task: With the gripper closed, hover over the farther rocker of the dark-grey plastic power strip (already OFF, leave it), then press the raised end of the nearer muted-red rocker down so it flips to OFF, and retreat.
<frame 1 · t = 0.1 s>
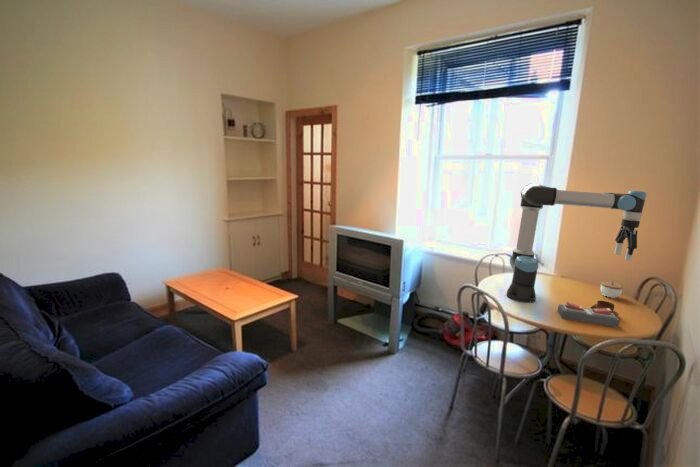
hand: (622, 257, 189), 28 cm above the table, fingers open, 13 cm apart
rocker 1: (574, 306, 173), point 6 cm above the table, hinge at 13.0°
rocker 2: (602, 310, 170), point 6 cm above the table, hinge at -13.0°
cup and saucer: (603, 314, 180), on the table
power strip: (586, 319, 173), on the table
lidded jar: (609, 296, 207), on the table
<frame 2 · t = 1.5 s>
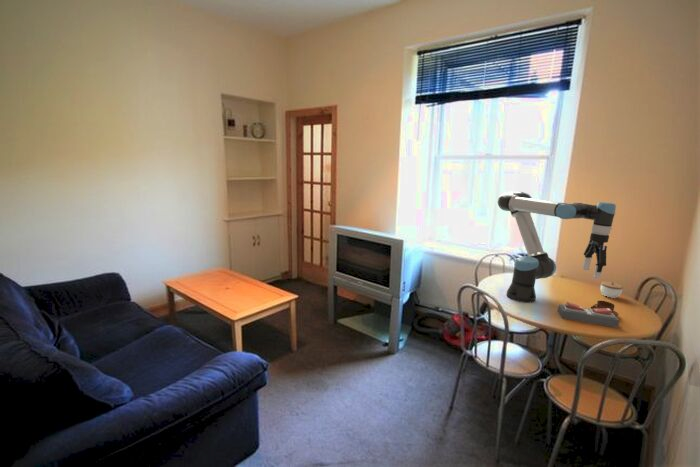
hand: (590, 273, 175), 22 cm above the table, fingers open, 13 cm apart
nothing on the table moved.
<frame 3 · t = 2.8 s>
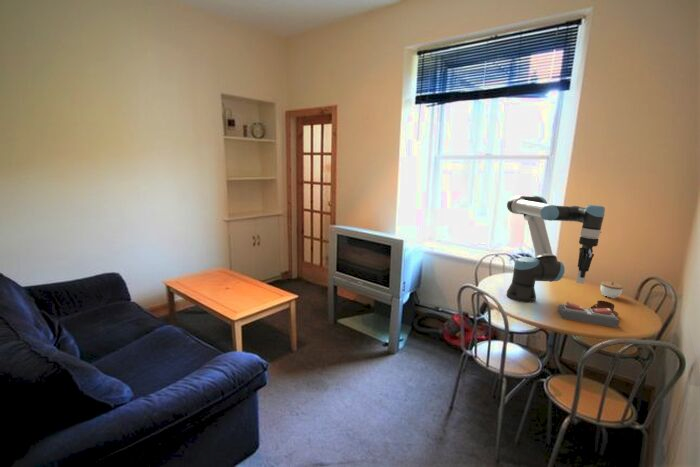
hand: (579, 282, 171), 18 cm above the table, fingers closed
nothing on the table moved.
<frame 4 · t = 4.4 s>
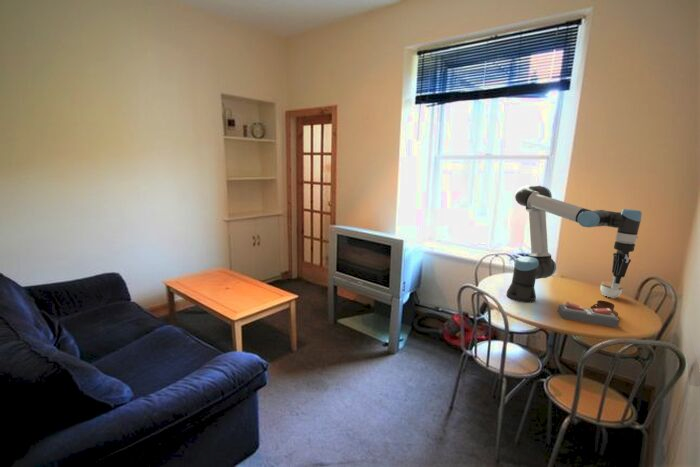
hand: (614, 288, 166), 18 cm above the table, fingers closed
nothing on the table moved.
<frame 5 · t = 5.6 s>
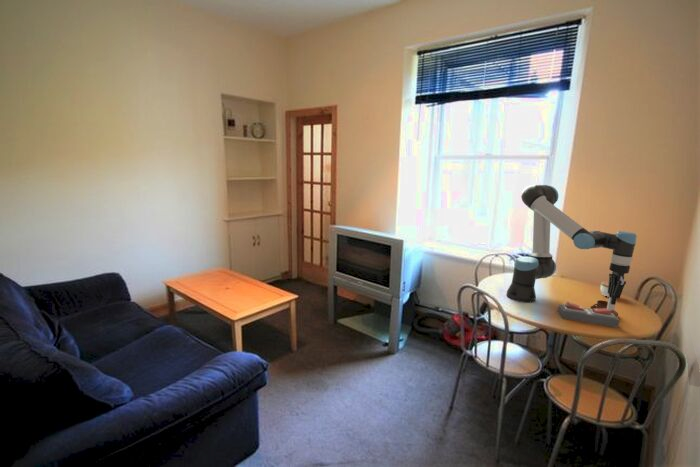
hand: (610, 309, 168), 7 cm above the table, fingers closed
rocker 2: (602, 310, 170), point 6 cm above the table, hinge at -12.8°, touching gripper
everything else where it was.
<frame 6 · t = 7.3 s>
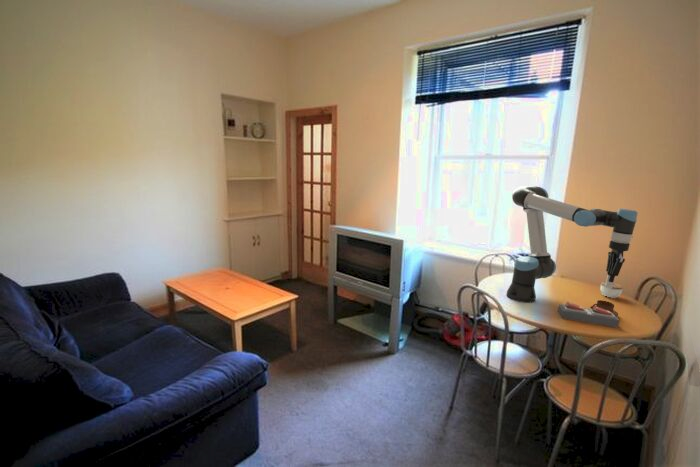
hand: (608, 287, 169), 18 cm above the table, fingers closed
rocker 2: (602, 310, 170), point 6 cm above the table, hinge at 12.2°
everything else where it was.
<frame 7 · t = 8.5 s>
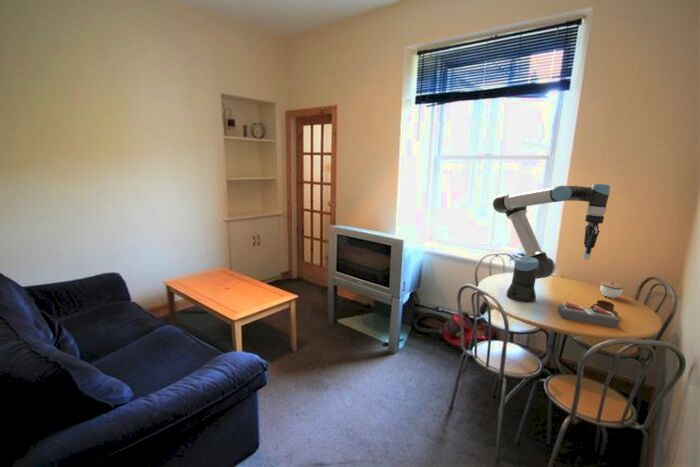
hand: (585, 259, 178), 28 cm above the table, fingers closed
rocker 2: (602, 310, 170), point 6 cm above the table, hinge at 18.4°
everything else where it was.
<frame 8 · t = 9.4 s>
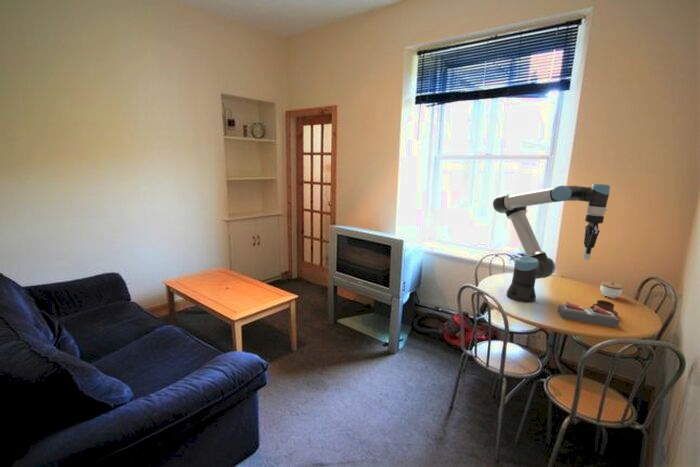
hand: (585, 259, 178), 28 cm above the table, fingers closed
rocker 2: (602, 310, 170), point 6 cm above the table, hinge at 19.3°, touching power strip
everything else where it was.
at the end: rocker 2 at +19° (first picture: -13°); rocker 1 at +13° (first picture: +13°) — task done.
